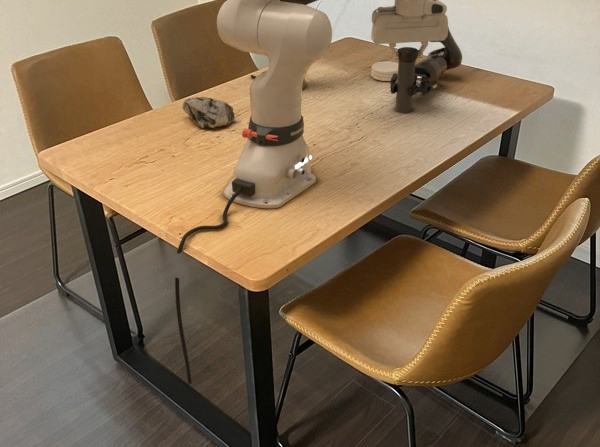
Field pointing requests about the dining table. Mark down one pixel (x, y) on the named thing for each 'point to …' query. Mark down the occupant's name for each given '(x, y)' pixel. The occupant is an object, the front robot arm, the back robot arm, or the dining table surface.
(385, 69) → the cream short cylinder
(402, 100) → the brown cylindrical canister
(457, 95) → the dining table surface
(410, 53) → the lid
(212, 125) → the rock
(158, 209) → the dining table surface
